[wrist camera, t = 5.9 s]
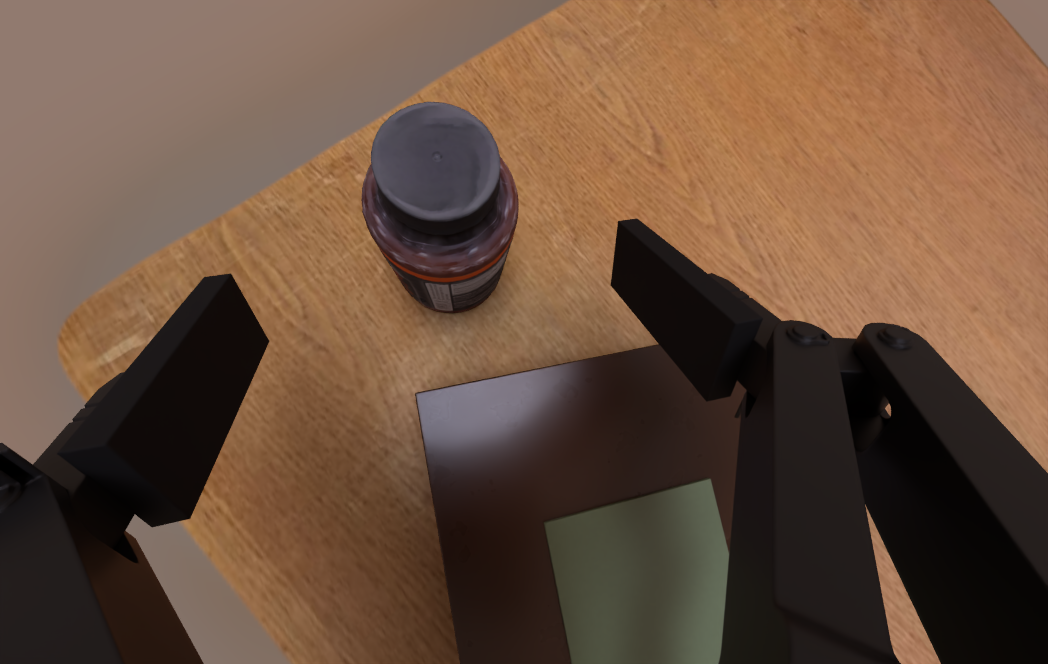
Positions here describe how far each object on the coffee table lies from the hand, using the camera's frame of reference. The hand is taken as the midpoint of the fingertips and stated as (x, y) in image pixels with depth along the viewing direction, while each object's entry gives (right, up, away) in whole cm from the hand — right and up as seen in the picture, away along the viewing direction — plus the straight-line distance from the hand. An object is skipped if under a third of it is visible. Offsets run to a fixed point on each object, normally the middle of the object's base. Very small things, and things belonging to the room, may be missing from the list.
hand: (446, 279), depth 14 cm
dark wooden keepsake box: (+7, -12, +8) cm, 16 cm away
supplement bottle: (-2, +2, +9) cm, 10 cm away
